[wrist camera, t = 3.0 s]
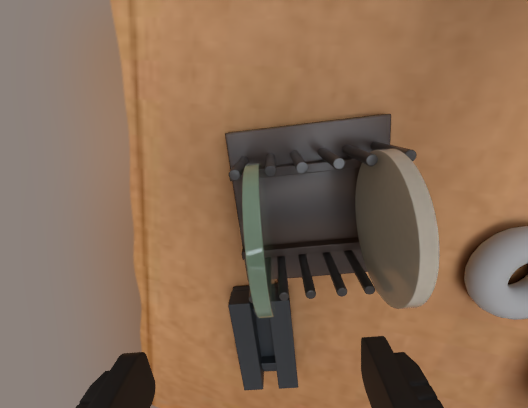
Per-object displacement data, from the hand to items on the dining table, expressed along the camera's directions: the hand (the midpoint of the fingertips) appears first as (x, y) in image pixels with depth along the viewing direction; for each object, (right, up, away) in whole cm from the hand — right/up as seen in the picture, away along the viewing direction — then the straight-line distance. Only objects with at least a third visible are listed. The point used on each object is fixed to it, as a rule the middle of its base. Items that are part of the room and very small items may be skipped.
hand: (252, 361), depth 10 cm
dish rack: (+5, +6, +16) cm, 18 cm away
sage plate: (0, +5, +15) cm, 16 cm away
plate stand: (+1, -9, +21) cm, 23 cm away
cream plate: (+9, +6, +14) cm, 18 cm away
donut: (+26, 0, +18) cm, 31 cm away
